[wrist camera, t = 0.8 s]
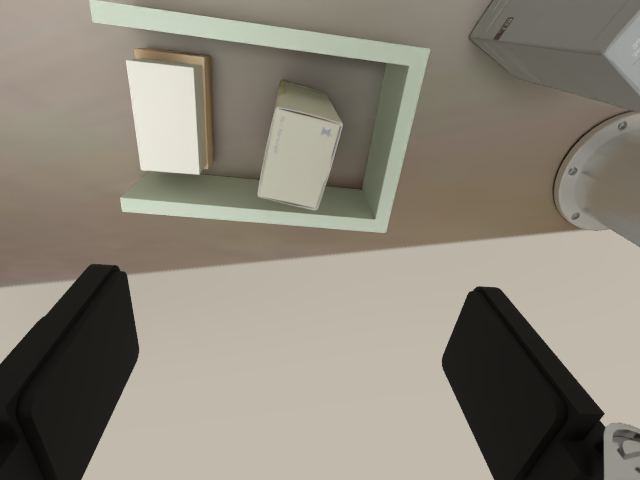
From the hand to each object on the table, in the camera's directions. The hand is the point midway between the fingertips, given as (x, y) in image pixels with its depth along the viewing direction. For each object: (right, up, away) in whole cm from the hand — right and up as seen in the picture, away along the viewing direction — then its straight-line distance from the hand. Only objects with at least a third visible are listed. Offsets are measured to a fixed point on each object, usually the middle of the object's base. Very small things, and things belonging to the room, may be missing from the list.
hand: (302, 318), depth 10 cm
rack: (-4, +13, +23) cm, 27 cm away
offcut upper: (-11, +13, +20) cm, 26 cm away
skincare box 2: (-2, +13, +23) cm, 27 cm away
